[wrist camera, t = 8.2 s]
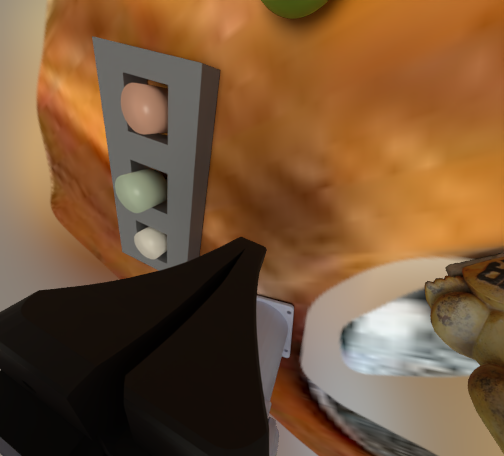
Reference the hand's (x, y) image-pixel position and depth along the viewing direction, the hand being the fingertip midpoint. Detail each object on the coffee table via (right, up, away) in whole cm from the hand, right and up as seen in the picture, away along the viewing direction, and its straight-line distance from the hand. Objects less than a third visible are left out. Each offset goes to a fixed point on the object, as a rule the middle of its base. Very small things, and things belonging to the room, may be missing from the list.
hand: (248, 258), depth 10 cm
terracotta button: (-8, +12, +9) cm, 17 cm away
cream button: (-11, +1, +17) cm, 20 cm away
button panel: (-9, +7, +13) cm, 17 cm away
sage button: (-10, +6, +12) cm, 16 cm away
